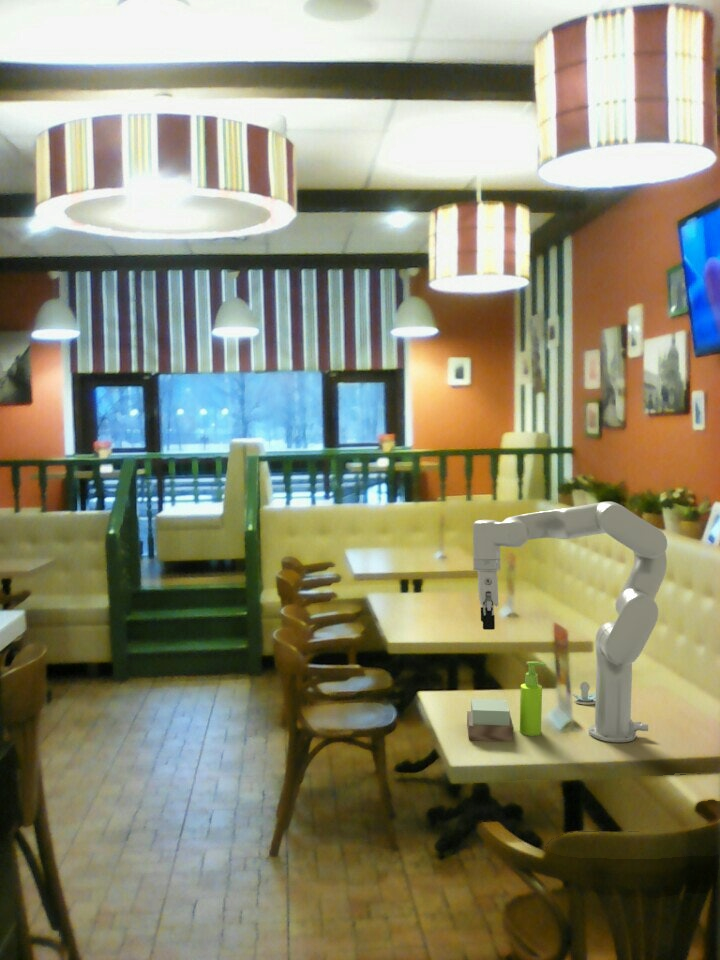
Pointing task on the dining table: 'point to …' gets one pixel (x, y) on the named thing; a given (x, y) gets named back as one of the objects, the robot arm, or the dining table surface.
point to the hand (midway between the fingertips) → (487, 625)
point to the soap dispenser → (531, 702)
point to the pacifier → (585, 695)
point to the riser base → (489, 731)
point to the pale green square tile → (490, 712)
